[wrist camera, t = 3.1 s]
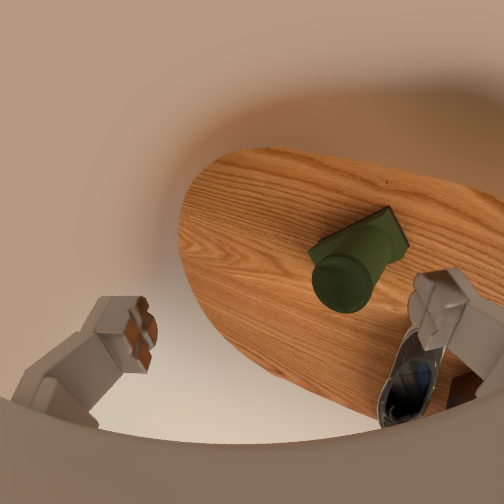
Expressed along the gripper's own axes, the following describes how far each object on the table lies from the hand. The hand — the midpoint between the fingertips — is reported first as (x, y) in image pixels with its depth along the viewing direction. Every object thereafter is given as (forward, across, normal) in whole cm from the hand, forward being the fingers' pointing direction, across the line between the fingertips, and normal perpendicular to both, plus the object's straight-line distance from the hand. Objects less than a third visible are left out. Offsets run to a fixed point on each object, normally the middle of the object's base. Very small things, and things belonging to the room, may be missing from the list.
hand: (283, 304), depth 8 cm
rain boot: (+24, -11, +13) cm, 30 cm away
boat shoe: (+15, -21, +34) cm, 42 cm away
